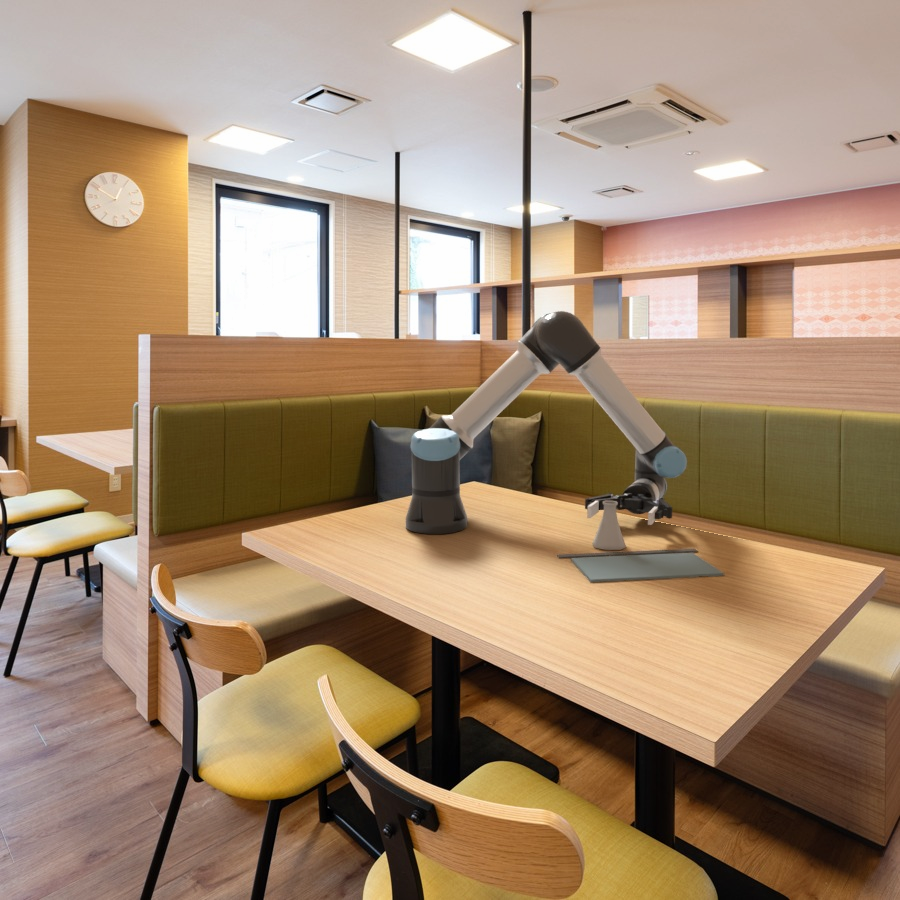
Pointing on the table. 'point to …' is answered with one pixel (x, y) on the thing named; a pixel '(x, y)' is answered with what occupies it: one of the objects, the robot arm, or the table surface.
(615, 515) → the flask
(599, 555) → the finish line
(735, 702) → the table surface
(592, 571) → the mat
